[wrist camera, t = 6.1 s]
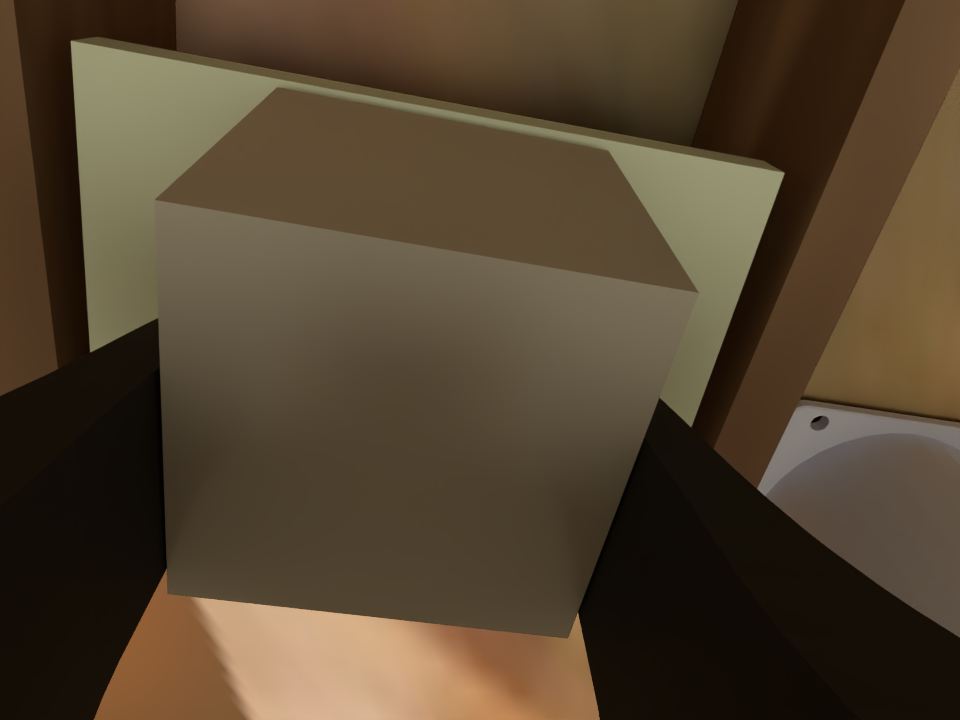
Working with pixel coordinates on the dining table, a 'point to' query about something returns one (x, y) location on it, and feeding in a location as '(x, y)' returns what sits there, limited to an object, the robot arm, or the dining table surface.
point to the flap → (240, 88)
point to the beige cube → (404, 364)
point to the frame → (722, 128)
